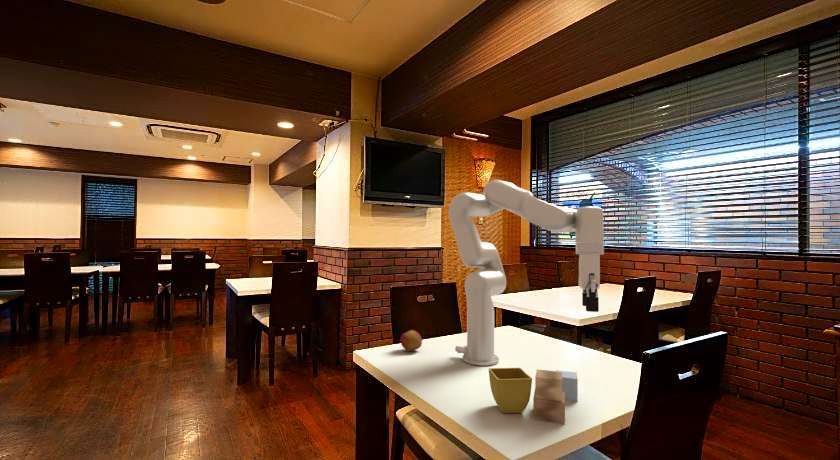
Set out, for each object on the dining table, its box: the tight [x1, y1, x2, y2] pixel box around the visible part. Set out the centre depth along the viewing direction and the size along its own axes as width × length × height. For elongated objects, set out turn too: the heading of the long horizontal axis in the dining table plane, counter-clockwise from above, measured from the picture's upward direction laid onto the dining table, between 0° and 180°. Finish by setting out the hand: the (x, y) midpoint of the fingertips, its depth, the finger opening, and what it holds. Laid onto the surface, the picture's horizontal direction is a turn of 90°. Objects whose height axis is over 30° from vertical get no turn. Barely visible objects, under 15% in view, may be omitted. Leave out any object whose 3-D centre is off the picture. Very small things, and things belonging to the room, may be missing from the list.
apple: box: [399, 329, 423, 352], centre depth 148 cm, size 8×8×8 cm
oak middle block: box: [534, 368, 562, 402], centre depth 94 cm, size 6×6×5 cm
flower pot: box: [488, 367, 533, 414], centre depth 98 cm, size 9×9×9 cm
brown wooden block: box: [532, 391, 566, 425], centre depth 94 cm, size 7×7×5 cm
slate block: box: [555, 369, 579, 402], centre depth 106 cm, size 6×6×6 cm
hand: (590, 308), depth 112 cm, fingers open, 9 cm apart
